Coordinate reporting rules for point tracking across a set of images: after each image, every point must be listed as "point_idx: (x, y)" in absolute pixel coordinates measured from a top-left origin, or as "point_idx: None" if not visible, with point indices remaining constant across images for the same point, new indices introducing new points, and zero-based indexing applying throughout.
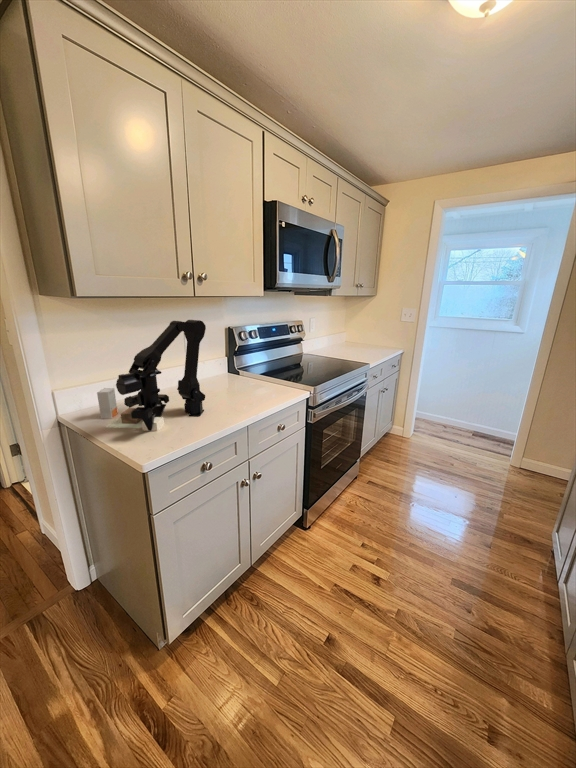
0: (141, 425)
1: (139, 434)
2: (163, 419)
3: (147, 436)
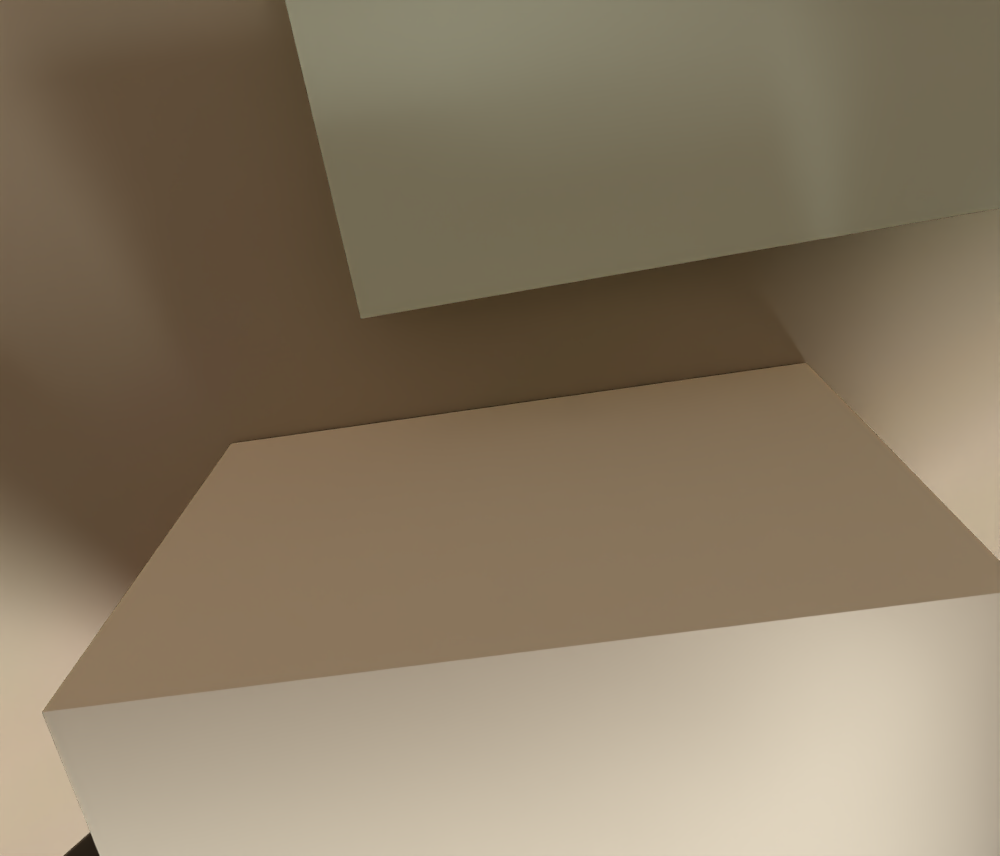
0: (640, 72)
1: (40, 415)
2: None
3: (36, 739)
